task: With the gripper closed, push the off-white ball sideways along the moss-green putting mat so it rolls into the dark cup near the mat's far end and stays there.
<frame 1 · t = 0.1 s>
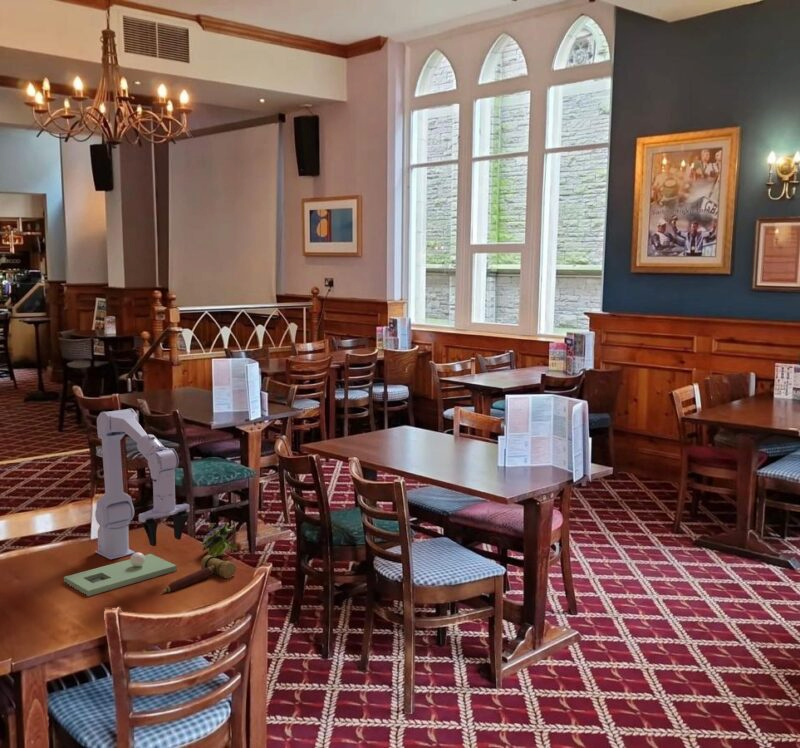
hand: (165, 541, 226), 10 cm above the table, tool pointing down, fingers open, 7 cm apart
putting mat: (121, 576, 228), on the table
passion flower: (221, 554, 247), on the table
ball: (137, 559, 231), point 3 cm above the table, touching putting mat
gavel: (195, 584, 224), on the table
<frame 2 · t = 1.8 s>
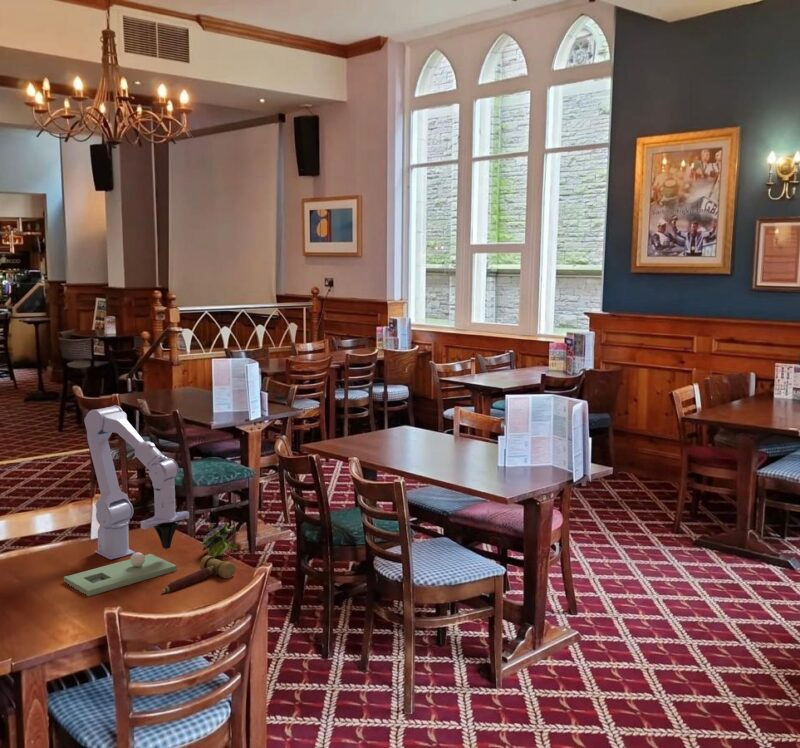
hand: (166, 547, 237), 5 cm above the table, tool pointing down, fingers closed
nothing on the table moved.
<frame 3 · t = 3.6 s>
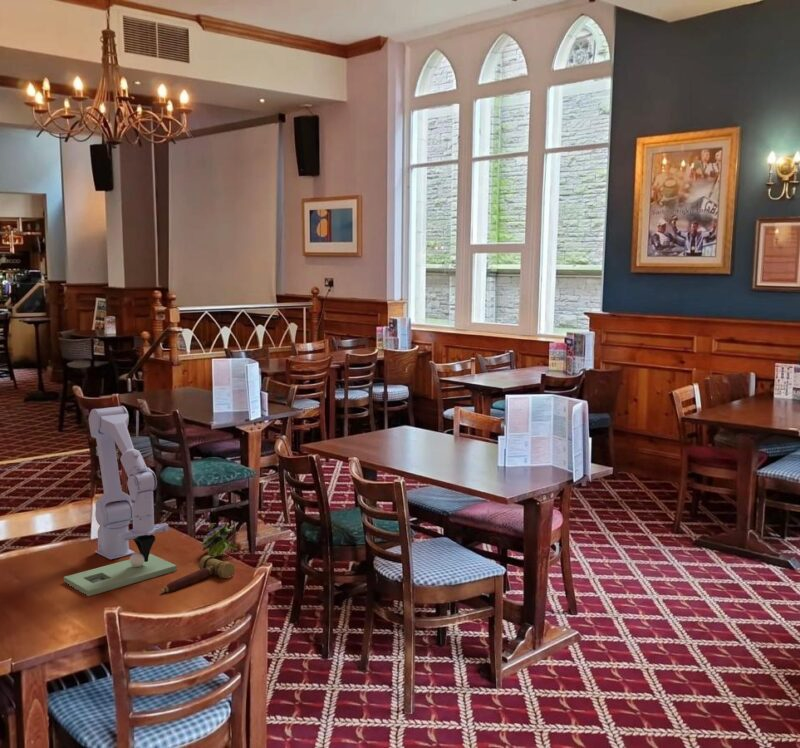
hand: (144, 560, 233), 3 cm above the table, tool pointing down, fingers closed, pressing on ball
ball: (137, 560, 231), point 3 cm above the table, tilted 7°, touching gripper, putting mat
everything else where it was.
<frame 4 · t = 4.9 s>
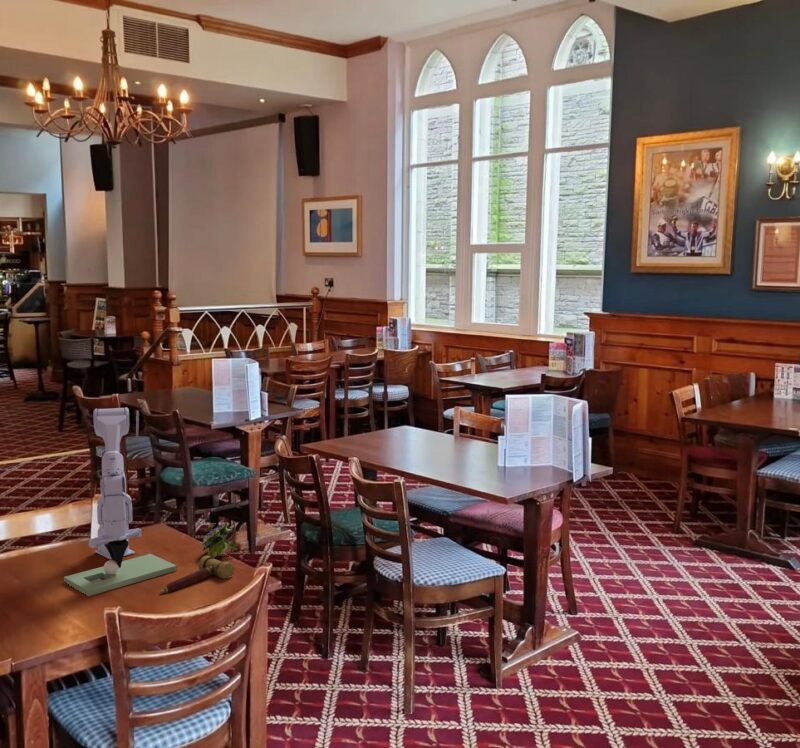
hand: (117, 567, 226), 3 cm above the table, tool pointing down, fingers closed, pressing on ball
ball: (111, 567, 225), point 3 cm above the table, tilted 124°, touching gripper, putting mat
everything else where it was.
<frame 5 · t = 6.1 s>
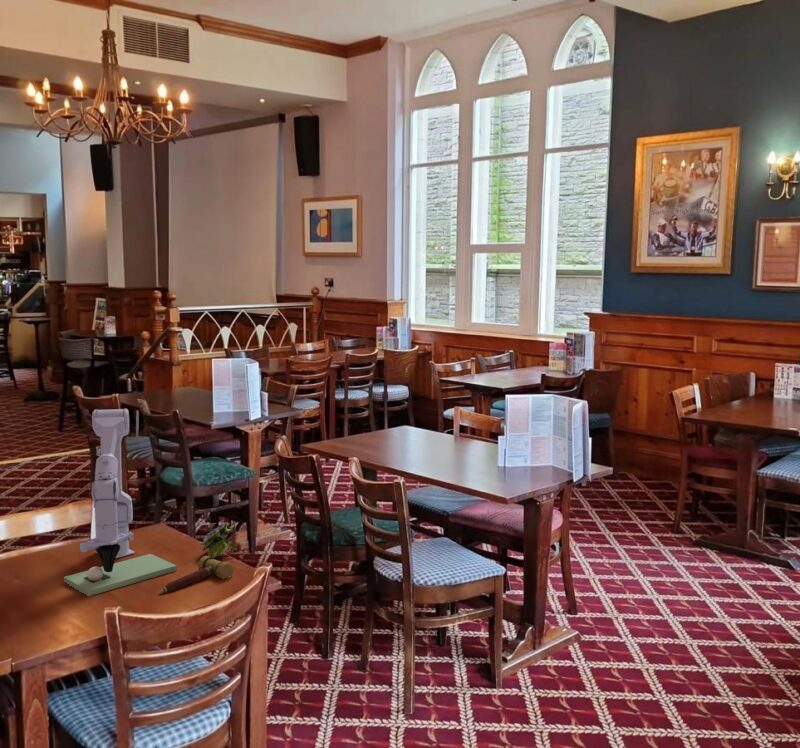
hand: (108, 571, 225), 2 cm above the table, tool pointing down, fingers closed
ball: (95, 574, 223), point 2 cm above the table, tilted 74°, touching putting mat
everything else where it was.
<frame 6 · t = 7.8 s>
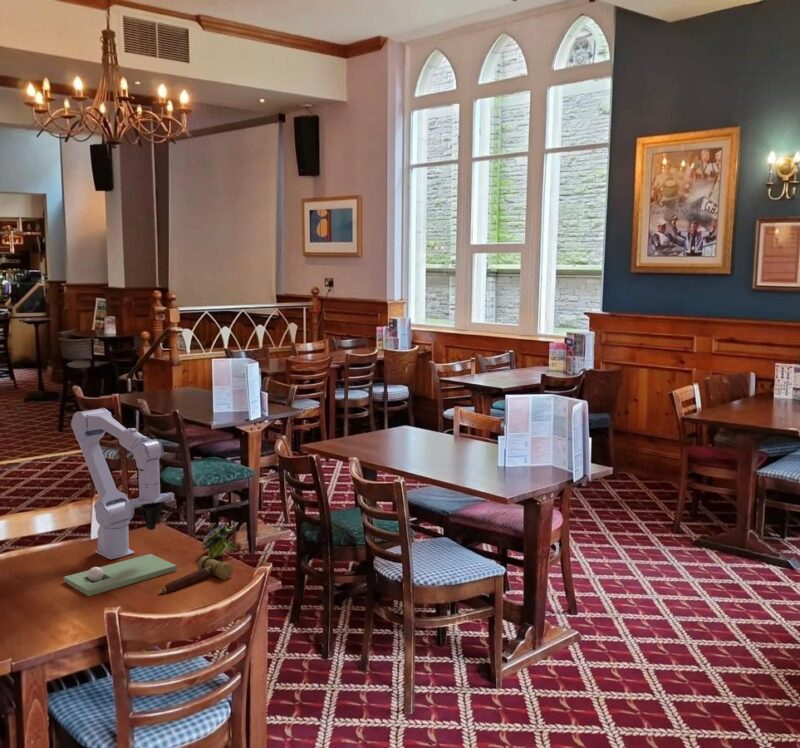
hand: (150, 528, 236), 10 cm above the table, tool pointing down, fingers closed
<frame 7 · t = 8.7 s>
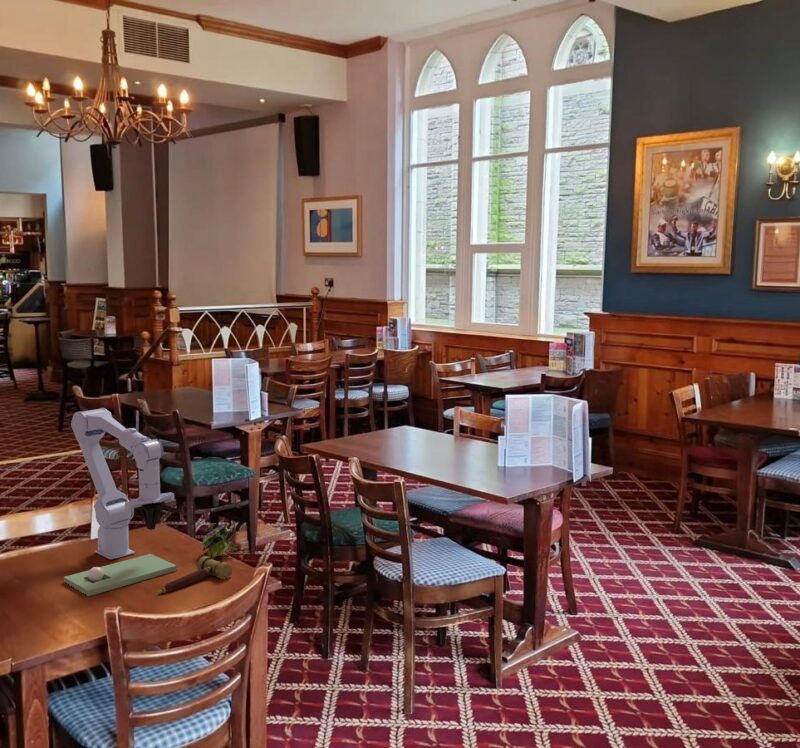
hand: (150, 528, 236), 10 cm above the table, tool pointing down, fingers closed
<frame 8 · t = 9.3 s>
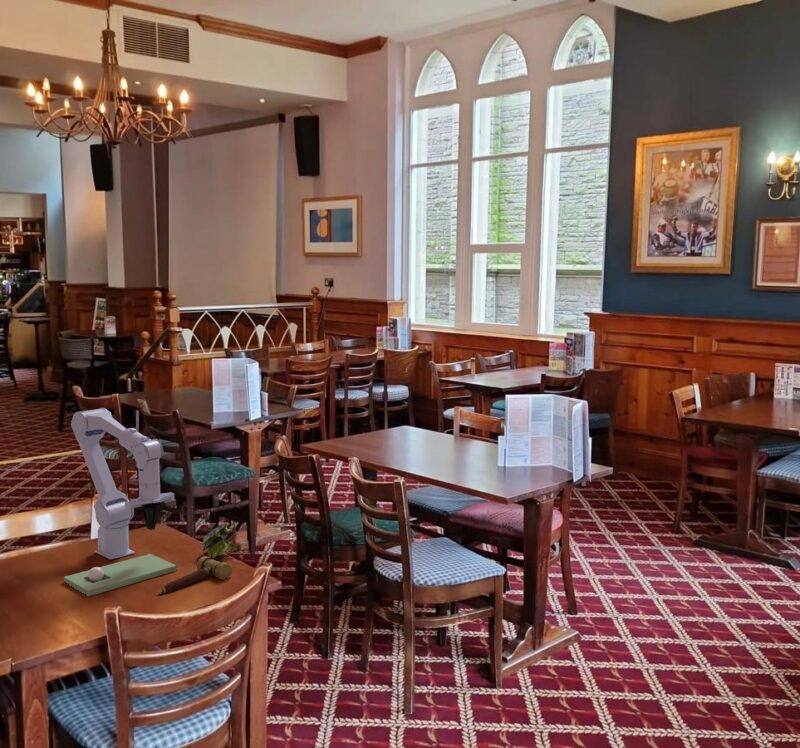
hand: (150, 528, 236), 10 cm above the table, tool pointing down, fingers closed
at the end: ball 0.4 cm from the target spot on the putting mat, point 2.3 cm above the putting mat's base; ball moved 12.2 cm from its start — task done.
